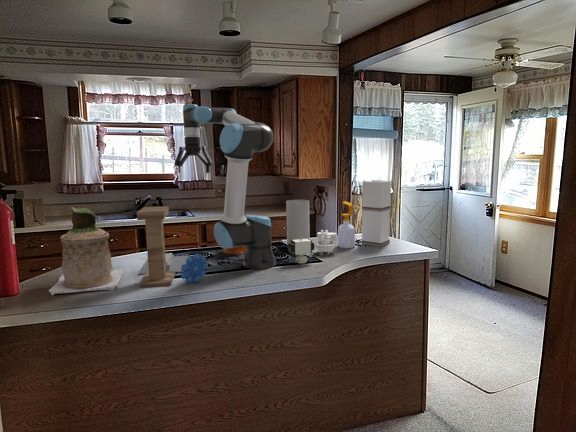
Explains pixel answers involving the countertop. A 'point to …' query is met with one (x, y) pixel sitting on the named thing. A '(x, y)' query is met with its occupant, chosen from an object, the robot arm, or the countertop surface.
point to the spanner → (168, 260)
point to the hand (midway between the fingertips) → (194, 179)
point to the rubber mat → (175, 265)
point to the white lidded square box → (376, 212)
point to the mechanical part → (326, 241)
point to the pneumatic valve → (301, 249)
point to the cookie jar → (86, 257)
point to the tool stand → (155, 247)
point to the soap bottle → (346, 230)
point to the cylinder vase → (297, 220)
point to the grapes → (194, 268)
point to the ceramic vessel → (235, 250)
